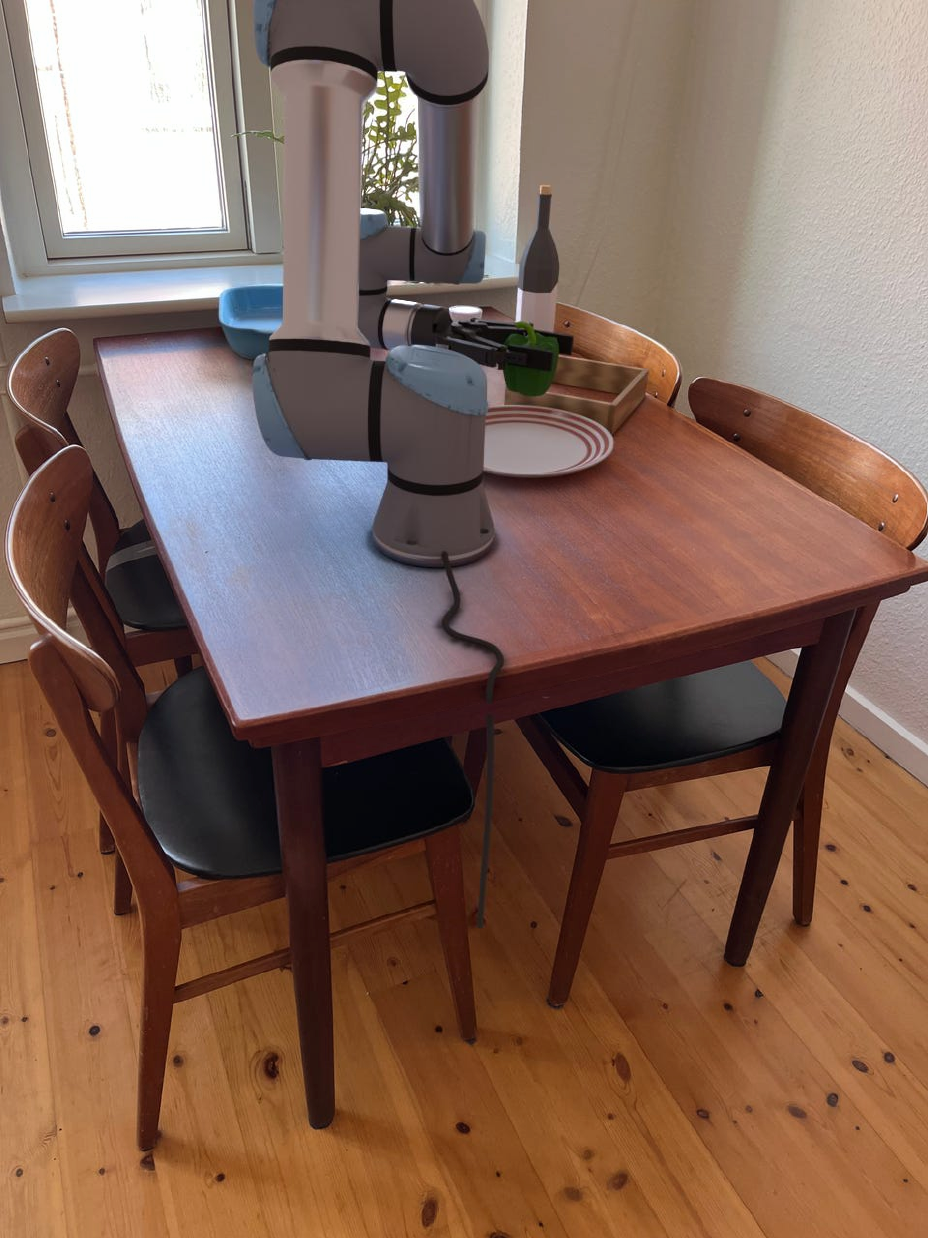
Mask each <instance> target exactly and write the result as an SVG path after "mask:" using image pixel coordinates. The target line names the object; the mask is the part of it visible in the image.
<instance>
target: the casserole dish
mask: <svg viewBox="0 0 928 1238" xmlns="http://www.w3.org/2000/svg"><path fill="white" fill-rule="evenodd" d="M218 320H219V323H220V326H221V327H222V330H223V333H224V336H225V338H226V341H227V342H228V344H229V346H230V348H231V349H232V350H233V352H235V353H236V354H237V355H239V356H240V357H242V359H247V360H255V359H256V358H257V356H259V355H262V354H263V353H266V354H269V337H270V336H271V335H272V334H273V333H274V332H275V331H276V330H277V329H278V328H279V327H280V326H281V325H282V322H283V283H260V284H259V283H258V284H250V285H241V286H233V287H228V288H226V289H224V290H222V291H221V293H220V294H219V298H218Z"/></svg>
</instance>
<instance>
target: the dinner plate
mask: <svg viewBox="0 0 928 1238" xmlns="http://www.w3.org/2000/svg"><path fill="white" fill-rule="evenodd" d="M614 445H615V444H614V438H613V435H611V434H610V433H609V431H608V430H607V429H605V428H604V427H603V426H602V425H600V424H598V423H597V422H595V421H593V420H591V419H589V418H586V417H584V416H581V415H578V414H575V413H571V412H567V411H563V410H559V409H553V408H547V407H539V406H529V405H502V404H500V405H489V408H488V413H486V423H485V446H484V468H483V473H488V474H492V475H496V476H502V477H507V478H516V479H517V478H518V479H541V478H550V477H559V476H564V475H569V474H570V475H571V474H574V473H578V472H581V471H584V470H587V469H589V468H592V467H594V466H596V465H598V464H600V463H601V462H603V461H604V460H606V459H607V458H608V457H609V456H610V455H611V454H612V451H613V449H614Z"/></svg>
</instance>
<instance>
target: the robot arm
mask: <svg viewBox="0 0 928 1238" xmlns="http://www.w3.org/2000/svg"><path fill="white" fill-rule="evenodd" d="M252 11H253V13H252V20H253V22H254V28H253V39H254V46H255V51H256V54H257V58H258V59H259V61H260V62H261V64H262V65H264V66H266V67H268V68H270V81H271V82H272V84H273V85H274V87H276V88H277V90H278V91H279V92H280V93H281V95H282V96H283V99H284V109H283V110H284V111H283V112H284V114H283V115H284V116H283V117H284V119H283V120H284V121H283V122H284V123H283V126H284V127H283V128H284V129H283V130H284V131H283V132H284V133H283V134H284V135H283V242H282V243H283V245H282V246H283V247H282V248H283V249H282V250H283V251H282V253H283V256H282V258H283V260H282V264H283V265H282V273H283V274H282V284H283V322H282V325H281V326H280V327H279V328H278V329H277V330H276V331H275V332H274V333H273V334H272V335H271V336H270V337H269V354H266V353H263V354H262V355H259V356H257V358H256V359H254V361H253V366H252V370H253V371H252V372H253V374H252V379H251V381H252V395H253V403H254V409H255V410H254V411H255V415H256V420H257V425H258V428H259V431H260V434H261V436H262V440H263V441H264V444H265V445H266V447H267V448H268V449H269V451H270V452H271V453H273V454H274V455H276V456H278V457H283V458H291V459H292V458H293V459H303V460H304V461H312V460H322V461H343V462H364V463H386V466H387V469H386V471H387V475H386V476H387V479H386V484H385V487H384V490H383V493H382V495H381V499H380V502H379V505H378V507H377V510H376V514H375V516H374V519H373V523H372V542H373V544H374V546H375V547H376V549H377V550H378V551H379V552H380V553H382V554H383V555H385V556H386V557H388V558H389V559H392V560H394V561H397V562H399V563H403V564H407V565H411V566H415V567H423V568H444V569H445V574H446V576H447V581H448V583H449V586H450V588H451V591H452V595H453V604H452V606H451V608H450V609H449V610H448V611H447V612H446V613H445V615H444V616H443V617H442V621H441V626H442V628H443V630H444V632H445V633H446V634H447V636H449V637H451V638H453V639H455V640H458V641H461V642H464V643H467V644H472V645H475V646H478V647H481V648H483V649H486V650H488V651H490V652H491V653H493V655H494V656H495V657H496V663H495V665H494V666H493V667H492V669H491V671H490V673H489V675H488V677H487V681H486V686H485V702H486V703H488V704H491V703H492V702H493V701H494V699H493V698H494V687H495V681H496V680H497V677H498V675H499V673H500V672H501V670H502V669H503V667H504V663H505V657H504V655H503V653H502V651H501V650H500V649H499V648H498V647H497V645H495V644H493V643H492V642H489V641H487V640H484V639H482V638H477V637H474V636H470V635H467V634H464V633H461V632H459V631H456V630H454V629H452V627H450V624H449V623H450V620H451V619H452V618H453V617H454V615H455V614H456V613H457V612H458V611H459V609H460V606H461V594H460V590H459V587H458V584H457V582H456V579H455V576H454V572H453V568H452V567H457V566H462V565H467V564H469V563H473V562H475V561H477V560H479V559H481V558H483V557H484V556H486V555H487V554H488V553H490V551H491V550H492V549H493V547H494V543H495V523H494V519H493V516H492V513H491V509H490V506H489V502H488V498H487V495H486V491H485V488H484V471H483V468H484V446H485V423H486V413H488V408H489V406H490V405H489V401H488V377H487V374H486V372H485V370H484V368H483V367H487V368H491V369H493V368H497V370H498V371H503V370H505V363H506V362H507V365H513V366H519V367H525V368H531V369H537V370H542V371H548V372H551V371H552V366H553V355H554V351H550V350H543V349H537V348H531V347H525V346H519V345H513V344H510V345H508V350H506V348H507V347H506V346H504V343H505V341H506V339H508V337H509V336H510V335H511V334H520V335H523V336H524V337H525V336H527V335H528V332H527V330H526V329H524V328H519V329H517V328H516V326H515V323H516V322H511V321H501V320H493V319H492V320H491V319H484V318H481V319H479V318H475V317H473V318H470V321H468V320H459V321H458V322H453V320H452V319H451V316H450V313H449V309H447V308H446V307H444V306H440V305H439V306H438V305H434V304H433V305H432V304H428V303H427V304H426V303H425V304H422V303H420V302H414V301H407V300H401V299H394V298H392V299H391V298H389V297H388V281H395V282H396V281H397V282H418V283H433V284H446V285H447V284H448V285H449V284H450V285H455V286H458V285H463V284H465V285H467V284H468V285H469V284H480V283H481V282H482V281H483V280H484V277H485V268H486V267H485V264H486V247H487V246H486V245H487V236H486V233H485V232H484V231H482V230H477V229H474V226H475V197H476V176H477V175H476V172H477V149H478V148H477V147H478V120H479V100H480V99H479V96H480V95H481V94H482V93H483V92H484V91H485V89H486V87H487V84H488V80H489V71H490V69H489V67H490V51H489V44H488V38H487V34H486V29H485V25H484V22H483V20H482V17H481V15H480V12H479V9H478V7H477V4H476V3H475V0H253V10H252ZM379 72H384V73H385V72H387V73H388V72H389V73H391V72H392V73H398V72H403V73H405V80H406V84H407V86H408V89H409V90H410V91H411V92H412V94H413V95H414V96H415V98H414V99H415V120H416V121H415V122H416V124H415V125H416V145H417V146H416V147H417V148H416V149H417V171H418V172H417V173H418V175H417V176H418V194H419V195H418V199H419V200H418V201H419V202H418V203H419V223H420V224H419V227H417V226H416V227H415V226H401V225H400V226H398V225H389V221H388V215H387V213H385V212H384V211H383V210H380V209H372V208H365V207H362V178H363V177H362V175H363V174H362V173H363V172H362V171H363V134H364V133H363V130H364V128H363V127H364V106H365V104H366V103H367V102H369V100H370V99H372V97H373V96H374V95H375V94H376V93H377V91H378V80H379V79H378V77H379ZM529 324H530V325H531V326H532V327H533V323H530V322H529ZM524 333H525V334H524ZM534 333H539V334H541V335H543V336H544V337H556V338H557V341H558V345H559V355H564V356H572V354H573V348H574V339H575V335H573V334H566V333H559V332H547V331H541V330H535V329H534ZM371 348H372V349H379V350H385V351H388V352H387V355H386V356H385V360H375V359H374V360H373V359H371ZM482 366H483V367H482ZM485 724H486V749H487V750H486V783H485V784H486V785H485V787H486V788H485V808H484V827H483V841H482V852H481V853H482V854H481V864H480V878H479V889H478V890H479V891H478V903H477V918H476V927H477V929H483V928H484V919H485V918H484V917H485V904H486V892H487V891H486V890H487V881H488V880H487V878H488V867H489V856H490V846H491V845H490V844H491V833H492V832H491V831H492V818H493V817H492V816H493V802H494V801H493V800H494V799H493V798H494V777H495V776H494V772H495V771H494V770H495V725H494V714H493V713H491V714H487V715H485Z"/></svg>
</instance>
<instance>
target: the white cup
mask: <svg viewBox="0 0 928 1238" xmlns="http://www.w3.org/2000/svg"><path fill="white" fill-rule="evenodd" d="M448 311H449V313H450V316H451V319H452V320H453V322H458V321H459V320H468V321H470V318H473V317H475V318H479V319H483V318H482V317H483V309H482V308H480V307H477V306H475V305H474V306H473V305H454V306H450V307H449V308H448Z"/></svg>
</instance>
